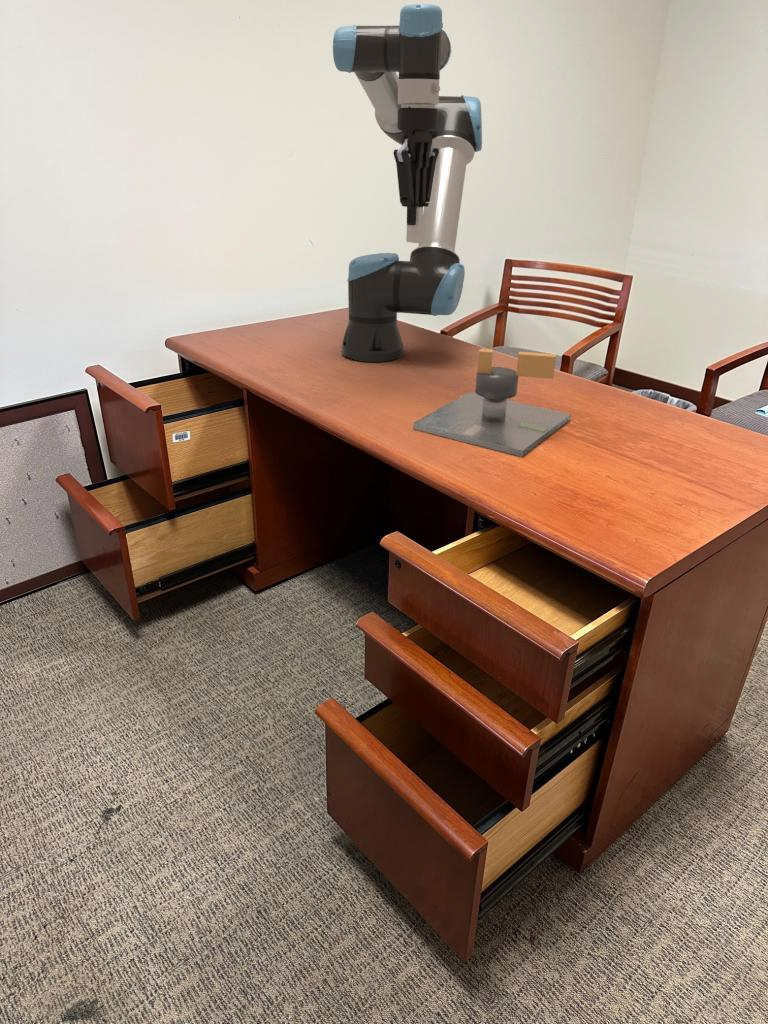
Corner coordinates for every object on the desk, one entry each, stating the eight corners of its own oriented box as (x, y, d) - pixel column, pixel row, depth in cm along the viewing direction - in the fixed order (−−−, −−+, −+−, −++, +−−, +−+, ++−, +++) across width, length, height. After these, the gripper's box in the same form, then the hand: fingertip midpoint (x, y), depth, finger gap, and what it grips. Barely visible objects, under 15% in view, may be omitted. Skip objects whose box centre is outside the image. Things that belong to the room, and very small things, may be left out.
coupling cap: (473, 397, 133) (476, 355, 130) (477, 384, 140) (480, 344, 136) (550, 403, 131) (555, 361, 127) (551, 390, 138) (556, 349, 134)
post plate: (469, 397, 152) (471, 369, 150) (570, 419, 142) (574, 390, 139) (413, 428, 136) (414, 398, 133) (521, 457, 126) (525, 424, 123)
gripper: (417, 106, 128) (413, 248, 139) (453, 107, 138) (446, 240, 149) (381, 106, 132) (380, 244, 143) (419, 107, 141) (415, 236, 153)
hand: (414, 242), depth 146 cm, fingers closed
